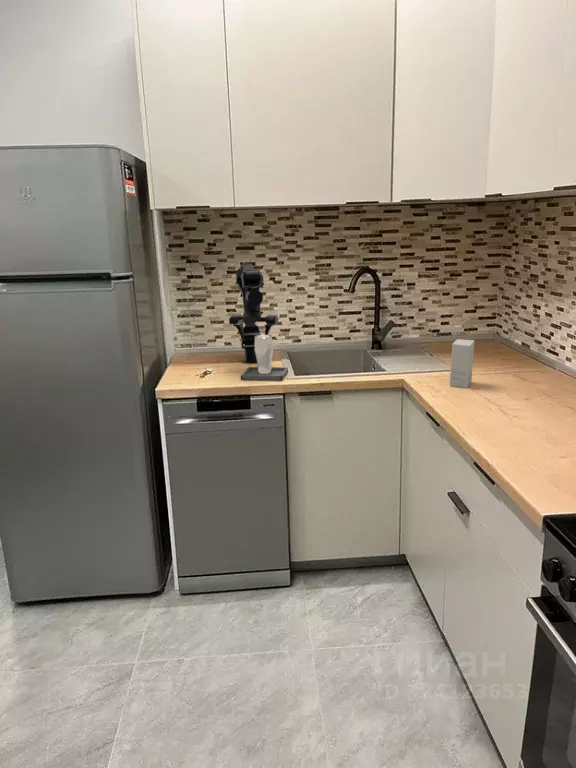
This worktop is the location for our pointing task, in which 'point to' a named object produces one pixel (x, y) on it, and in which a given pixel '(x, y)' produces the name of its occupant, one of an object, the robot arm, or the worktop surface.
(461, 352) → the skincare box
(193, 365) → the worktop surface
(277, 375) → the drip tray
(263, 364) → the beer glass
